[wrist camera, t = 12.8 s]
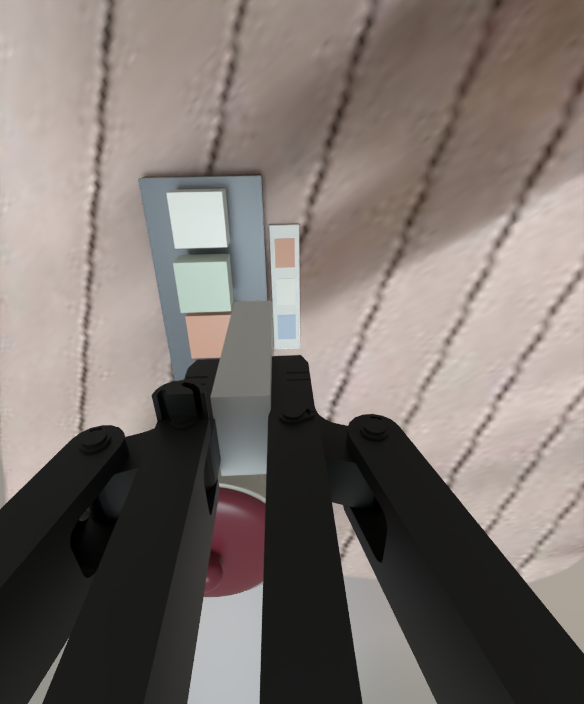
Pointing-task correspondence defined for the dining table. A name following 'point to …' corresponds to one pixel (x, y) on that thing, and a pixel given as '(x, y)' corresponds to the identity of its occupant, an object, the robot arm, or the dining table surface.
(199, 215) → the key ivory
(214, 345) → the key terracotta
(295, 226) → the card
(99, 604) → the robot arm
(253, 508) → the canister
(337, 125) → the dining table surface
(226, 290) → the key sage
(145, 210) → the keypad board
